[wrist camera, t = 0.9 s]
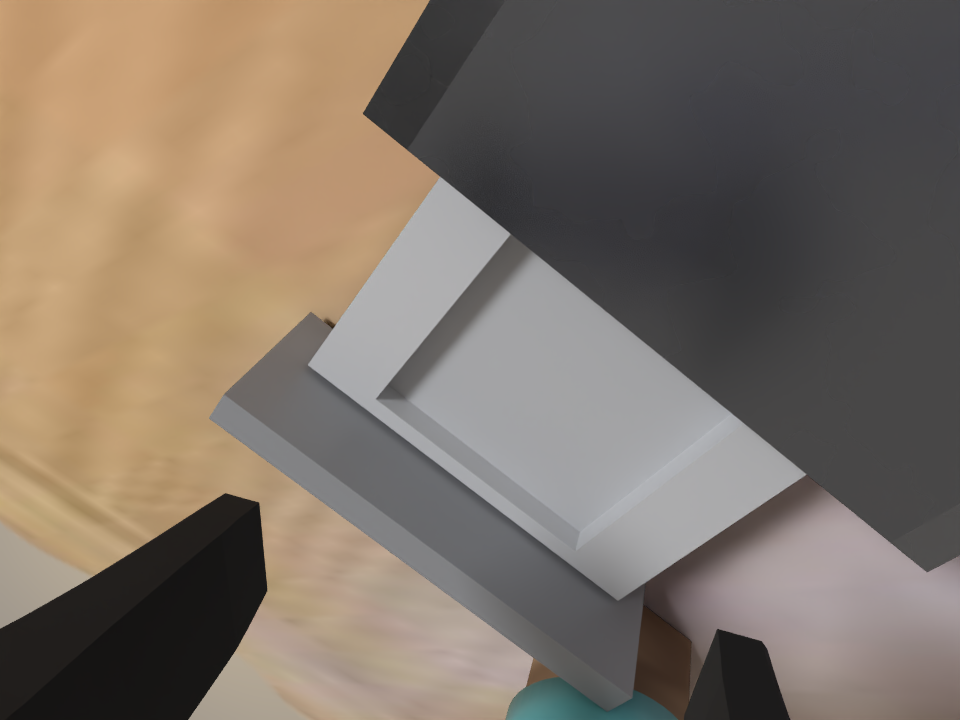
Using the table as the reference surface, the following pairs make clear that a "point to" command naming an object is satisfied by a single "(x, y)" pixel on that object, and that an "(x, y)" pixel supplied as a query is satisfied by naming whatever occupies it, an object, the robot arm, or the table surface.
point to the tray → (505, 441)
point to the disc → (578, 705)
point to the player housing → (734, 207)
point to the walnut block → (652, 665)
